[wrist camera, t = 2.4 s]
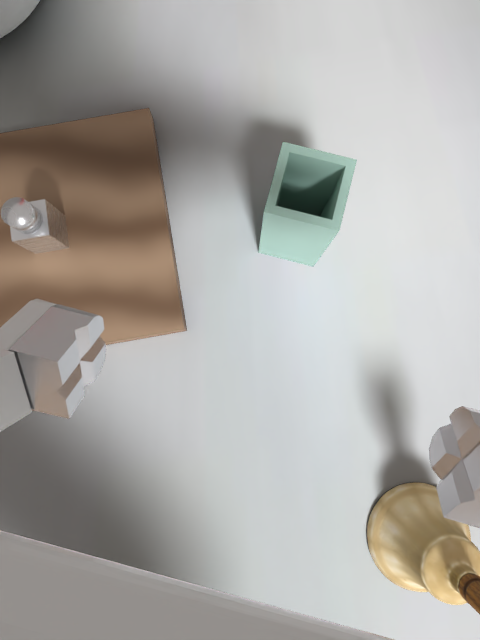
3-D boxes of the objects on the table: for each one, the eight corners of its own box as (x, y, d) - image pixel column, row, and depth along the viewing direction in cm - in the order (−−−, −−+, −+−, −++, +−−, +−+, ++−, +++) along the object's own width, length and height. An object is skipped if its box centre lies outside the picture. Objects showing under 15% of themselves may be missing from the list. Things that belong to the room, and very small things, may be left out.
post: (69, 248, 32) (37, 227, 27) (35, 253, 32) (-3, 234, 27) (65, 215, 32) (33, 189, 27) (31, 221, 32) (-7, 196, 27)
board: (187, 330, 32) (184, 329, 31) (-43, 370, 32) (-56, 371, 31) (153, 118, 35) (149, 107, 33) (-62, 155, 35) (-75, 145, 33)
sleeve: (313, 266, 33) (339, 230, 24) (258, 252, 33) (263, 211, 24) (326, 213, 34) (356, 159, 25) (272, 200, 34) (282, 141, 25)
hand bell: (477, 496, 31) (725, 639, 15) (458, 602, 30) (701, 872, 14) (377, 470, 31) (517, 582, 15) (356, 574, 30) (481, 807, 14)
